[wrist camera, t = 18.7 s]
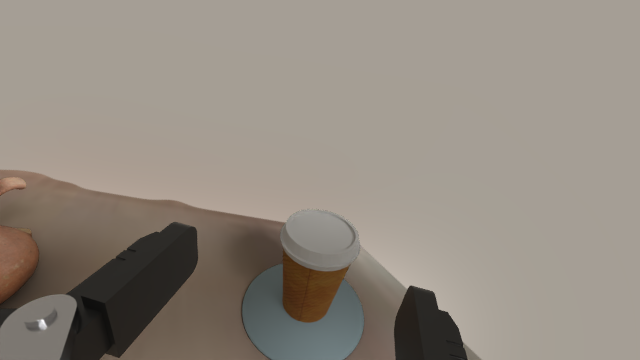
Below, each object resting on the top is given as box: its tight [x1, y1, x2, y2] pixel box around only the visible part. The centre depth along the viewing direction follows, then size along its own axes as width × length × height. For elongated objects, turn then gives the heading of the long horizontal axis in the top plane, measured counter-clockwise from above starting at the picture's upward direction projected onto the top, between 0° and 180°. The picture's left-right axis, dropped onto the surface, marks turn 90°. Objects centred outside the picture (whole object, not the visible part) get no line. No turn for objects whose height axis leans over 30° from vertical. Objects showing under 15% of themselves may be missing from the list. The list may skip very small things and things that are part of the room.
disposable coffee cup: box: [280, 209, 360, 323], centre depth 34 cm, size 10×10×12 cm
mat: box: [242, 264, 364, 360], centre depth 36 cm, size 16×16×1 cm
